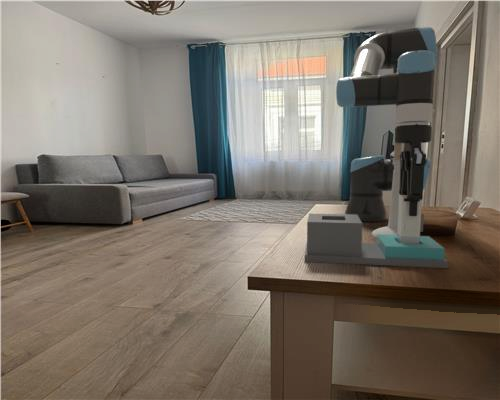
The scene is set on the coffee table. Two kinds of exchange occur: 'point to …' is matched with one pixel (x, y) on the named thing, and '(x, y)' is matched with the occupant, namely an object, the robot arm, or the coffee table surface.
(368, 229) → the coffee table surface
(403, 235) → the plug
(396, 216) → the candlestick
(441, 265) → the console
